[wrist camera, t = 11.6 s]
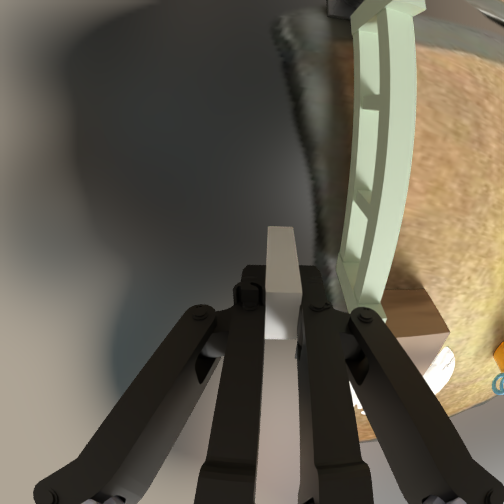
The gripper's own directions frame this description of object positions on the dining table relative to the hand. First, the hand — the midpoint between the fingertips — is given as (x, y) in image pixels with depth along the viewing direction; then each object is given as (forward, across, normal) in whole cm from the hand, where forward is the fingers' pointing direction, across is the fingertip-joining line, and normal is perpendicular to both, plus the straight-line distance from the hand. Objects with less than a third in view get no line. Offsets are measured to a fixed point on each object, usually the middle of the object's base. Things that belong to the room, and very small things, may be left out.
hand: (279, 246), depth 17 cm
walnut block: (+7, +13, -12) cm, 19 cm away
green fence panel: (+5, +6, +6) cm, 10 cm away
